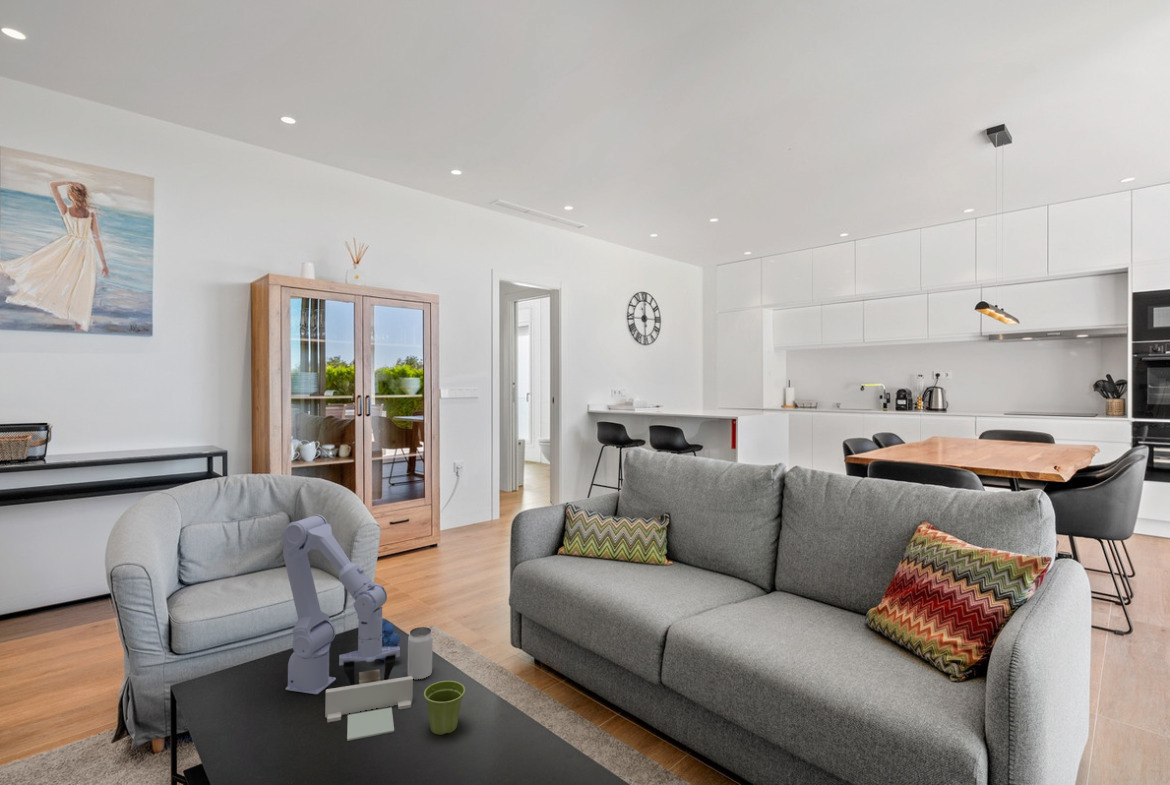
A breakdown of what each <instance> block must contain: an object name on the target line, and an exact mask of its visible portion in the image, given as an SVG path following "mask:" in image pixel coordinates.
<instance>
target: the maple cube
mask: <svg viewBox="0 0 1170 785" xmlns="http://www.w3.org/2000/svg"><path fill="white" fill-rule="evenodd" d="M377 681H381V672H380V669H372V670H366V671H359V672H358V684H364V683H370V682H377Z"/></svg>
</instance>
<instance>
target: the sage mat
mask: <svg viewBox="0 0 1170 785" xmlns="http://www.w3.org/2000/svg"><path fill="white" fill-rule="evenodd" d="M392 707H393V706H390V707H384V708H378V709H373V710H367V711H361V712H355V713H350V714H347V729H346V730H347V735H346V739H347V740H346V741H347V742H348V741H354V740H358V739H364V738H365V739H366V738H370V737H374V736H379V735H384V734H385V735H387V734H391V733H394V732H395V726H394V717H393V708H392Z"/></svg>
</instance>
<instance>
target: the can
mask: <svg viewBox="0 0 1170 785" xmlns="http://www.w3.org/2000/svg"><path fill="white" fill-rule="evenodd" d="M407 639H408V640H407V677H408V676H412V677H413V679H414V680H416V681H421V680H424V678H425V679H427V678H428V676H429V677H431V675H432V674H433V673H432V672H433V642H434V641H433V640H434V638H433V633H432V628H430V627H426V626H421V627H420V626H419V627H414V628H412V629H411V630H410V631H409V635H408V637H407ZM426 677H427V678H426ZM418 679H419V680H418ZM420 679H421V680H420ZM414 680H413V681H414Z"/></svg>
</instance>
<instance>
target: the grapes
mask: <svg viewBox="0 0 1170 785" xmlns="http://www.w3.org/2000/svg"><path fill="white" fill-rule="evenodd" d="M400 637H401V636H400V635H399V634H398V633H396V632H395V625H394V624H393V623H391V622H387V620H386V619H385V618H384V617H382V647H398V646H399V643H400V640H401V638H400ZM399 647H400V646H399ZM379 660H381V661H383V660H384V661H385V658H380V659H379Z"/></svg>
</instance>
